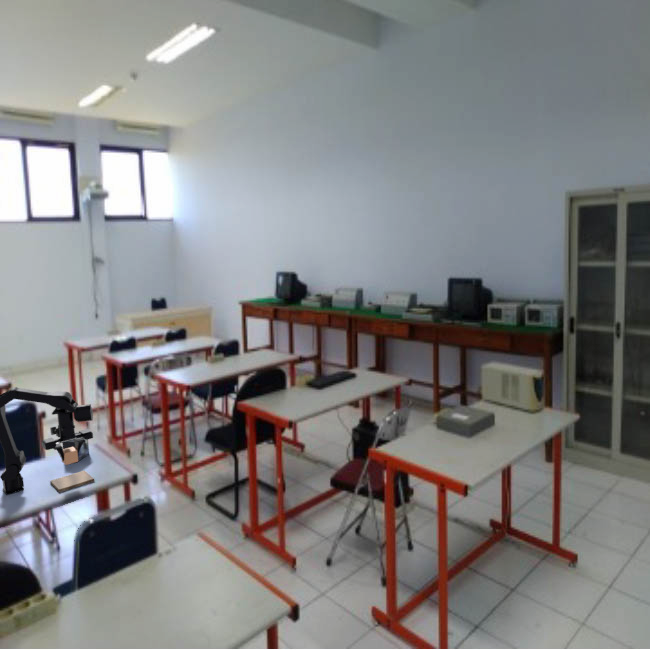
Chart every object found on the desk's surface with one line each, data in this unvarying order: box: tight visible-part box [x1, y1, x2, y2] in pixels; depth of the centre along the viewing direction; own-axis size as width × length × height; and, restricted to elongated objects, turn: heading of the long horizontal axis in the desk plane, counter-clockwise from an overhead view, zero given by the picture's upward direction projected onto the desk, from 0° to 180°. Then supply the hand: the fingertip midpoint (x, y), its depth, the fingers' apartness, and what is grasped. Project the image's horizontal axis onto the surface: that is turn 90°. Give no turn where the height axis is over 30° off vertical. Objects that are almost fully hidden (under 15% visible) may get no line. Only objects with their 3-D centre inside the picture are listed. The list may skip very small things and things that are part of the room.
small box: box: [61, 432, 90, 464], centre depth 257 cm, size 11×6×10 cm, turn 168°
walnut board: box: [49, 469, 95, 493], centre depth 234 cm, size 14×11×1 cm
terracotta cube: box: [61, 447, 79, 466], centre depth 232 cm, size 5×5×5 cm
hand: (69, 458), depth 232 cm, fingers closed on terracotta cube, 5 cm apart
